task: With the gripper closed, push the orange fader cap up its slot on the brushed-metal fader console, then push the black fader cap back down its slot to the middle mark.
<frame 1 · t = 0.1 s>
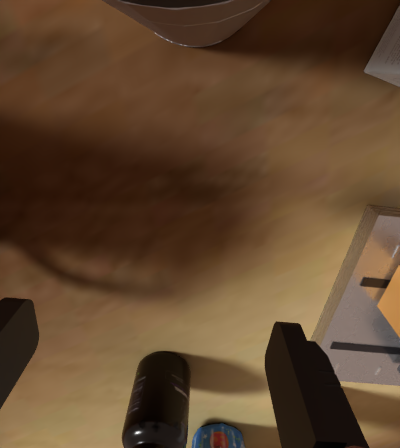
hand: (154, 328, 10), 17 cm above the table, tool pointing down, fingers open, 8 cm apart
supplement bottle: (164, 366, 38), on the table
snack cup: (217, 432, 46), on the table
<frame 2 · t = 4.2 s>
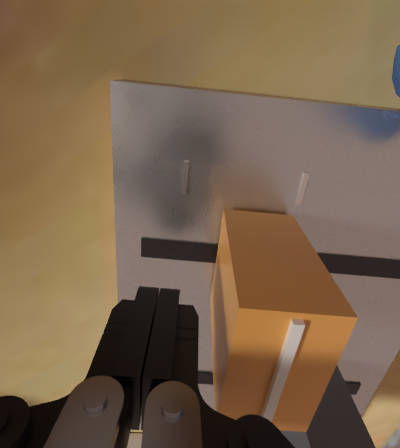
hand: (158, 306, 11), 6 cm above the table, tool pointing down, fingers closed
console: (260, 296, 18), on the table
black fader: (317, 447, 15), point 5 cm above the table, slide at 8.0 cm
orange fader: (259, 307, 11), point 5 cm above the table, slide at 3.3 cm, touching gripper
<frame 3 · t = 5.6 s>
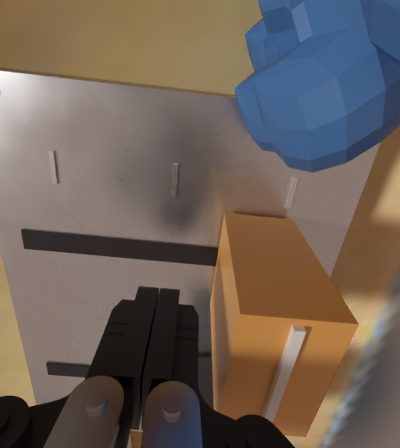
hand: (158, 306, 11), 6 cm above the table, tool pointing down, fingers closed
console: (168, 290, 18), on the table
black fader: (211, 443, 15), point 6 cm above the table, slide at 8.0 cm
orange fader: (259, 311, 11), point 5 cm above the table, slide at 8.7 cm, touching gripper
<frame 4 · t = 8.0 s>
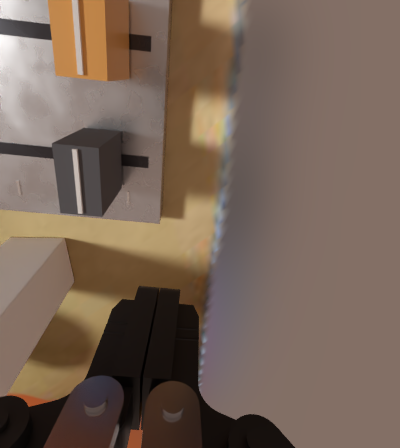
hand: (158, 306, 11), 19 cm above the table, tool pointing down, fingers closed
console: (73, 91, 25), on the table
milk: (44, 258, 33), on the table
black fader: (92, 169, 23), point 6 cm above the table, slide at 8.0 cm
orange fader: (94, 34, 19), point 6 cm above the table, slide at 8.7 cm
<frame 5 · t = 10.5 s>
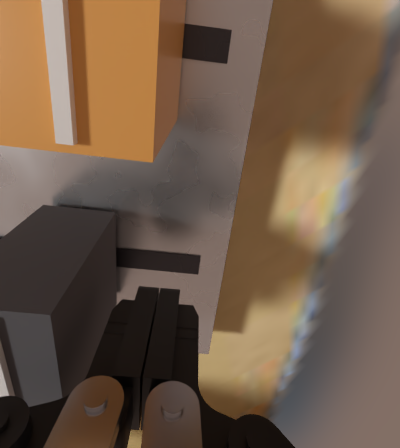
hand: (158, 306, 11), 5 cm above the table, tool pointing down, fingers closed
console: (63, 133, 13), on the table
black fader: (52, 305, 11), point 6 cm above the table, slide at 6.4 cm, touching gripper
orange fader: (111, 16, 7), point 5 cm above the table, slide at 8.7 cm
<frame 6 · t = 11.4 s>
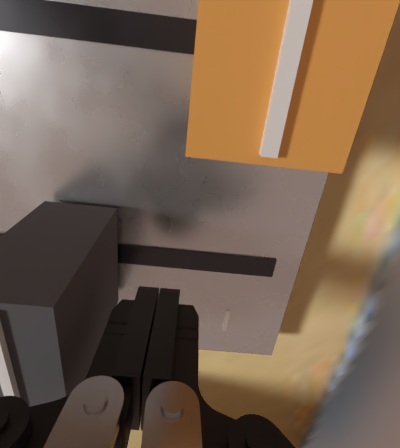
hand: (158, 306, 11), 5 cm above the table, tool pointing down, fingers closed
console: (142, 139, 14), on the table
black fader: (54, 300, 11), point 5 cm above the table, slide at 2.9 cm, touching gripper
orange fader: (263, 29, 7), point 5 cm above the table, slide at 8.7 cm
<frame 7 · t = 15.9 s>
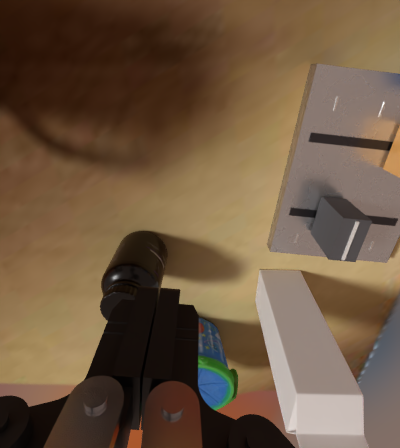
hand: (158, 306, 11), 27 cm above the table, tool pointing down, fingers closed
supplement bottle: (143, 249, 42), on the table
console: (349, 173, 36), on the table
milk: (276, 285, 44), on the table
black fader: (338, 228, 34), point 6 cm above the table, slide at 2.9 cm
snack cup: (196, 331, 49), on the table
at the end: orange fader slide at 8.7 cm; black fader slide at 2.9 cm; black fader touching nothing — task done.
